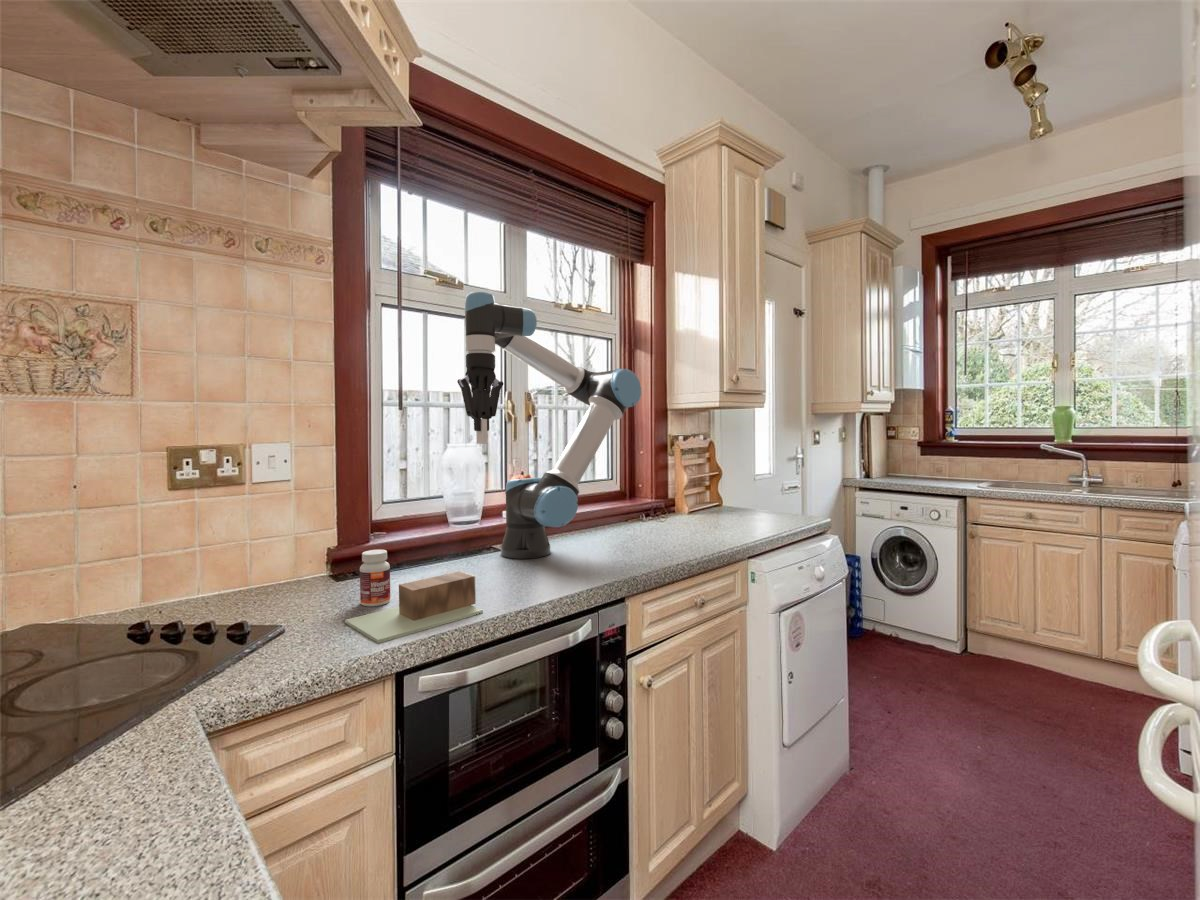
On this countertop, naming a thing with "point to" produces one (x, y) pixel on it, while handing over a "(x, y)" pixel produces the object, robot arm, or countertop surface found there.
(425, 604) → the walnut block
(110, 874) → the countertop surface
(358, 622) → the board
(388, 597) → the pill bottle
